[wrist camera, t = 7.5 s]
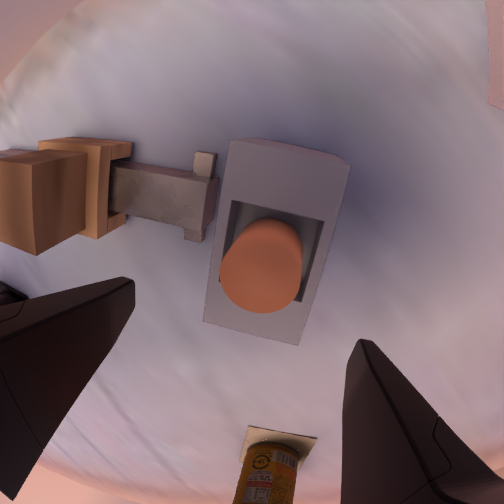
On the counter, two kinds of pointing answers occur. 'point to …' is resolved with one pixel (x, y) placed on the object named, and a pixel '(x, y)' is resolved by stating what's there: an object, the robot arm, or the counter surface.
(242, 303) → the brown rounded piece
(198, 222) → the rail
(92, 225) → the carriage
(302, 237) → the grey peg holder
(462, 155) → the counter surface
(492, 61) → the milk
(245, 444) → the condiment
